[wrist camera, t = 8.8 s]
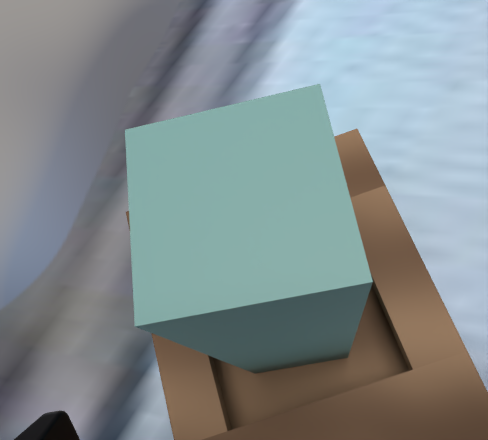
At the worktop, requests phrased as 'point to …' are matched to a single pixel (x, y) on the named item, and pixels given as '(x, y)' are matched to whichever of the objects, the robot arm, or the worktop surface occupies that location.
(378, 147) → the worktop surface
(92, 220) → the worktop surface
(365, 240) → the walnut box
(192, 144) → the teal post
